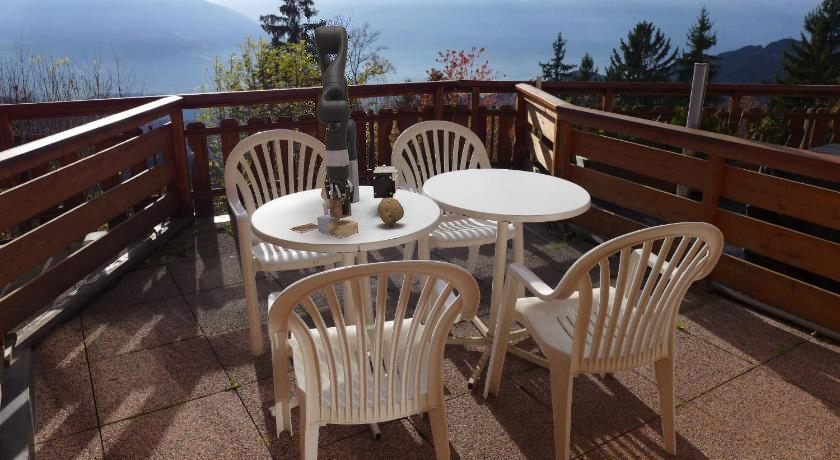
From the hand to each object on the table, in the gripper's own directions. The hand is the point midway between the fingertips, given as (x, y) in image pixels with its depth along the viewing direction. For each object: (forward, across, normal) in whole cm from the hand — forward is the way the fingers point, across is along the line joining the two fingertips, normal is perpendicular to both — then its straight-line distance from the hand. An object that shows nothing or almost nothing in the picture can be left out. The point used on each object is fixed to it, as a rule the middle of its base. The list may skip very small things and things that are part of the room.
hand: (340, 213), depth 191 cm
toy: (+7, -21, +13) cm, 26 cm away
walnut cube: (+1, 0, 0) cm, 1 cm away
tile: (+7, -14, -5) cm, 16 cm away
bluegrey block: (+4, -9, -1) cm, 10 cm away
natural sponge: (+7, +6, +17) cm, 19 cm away
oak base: (+7, +1, 0) cm, 7 cm away
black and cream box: (+7, -11, +30) cm, 33 cm away
